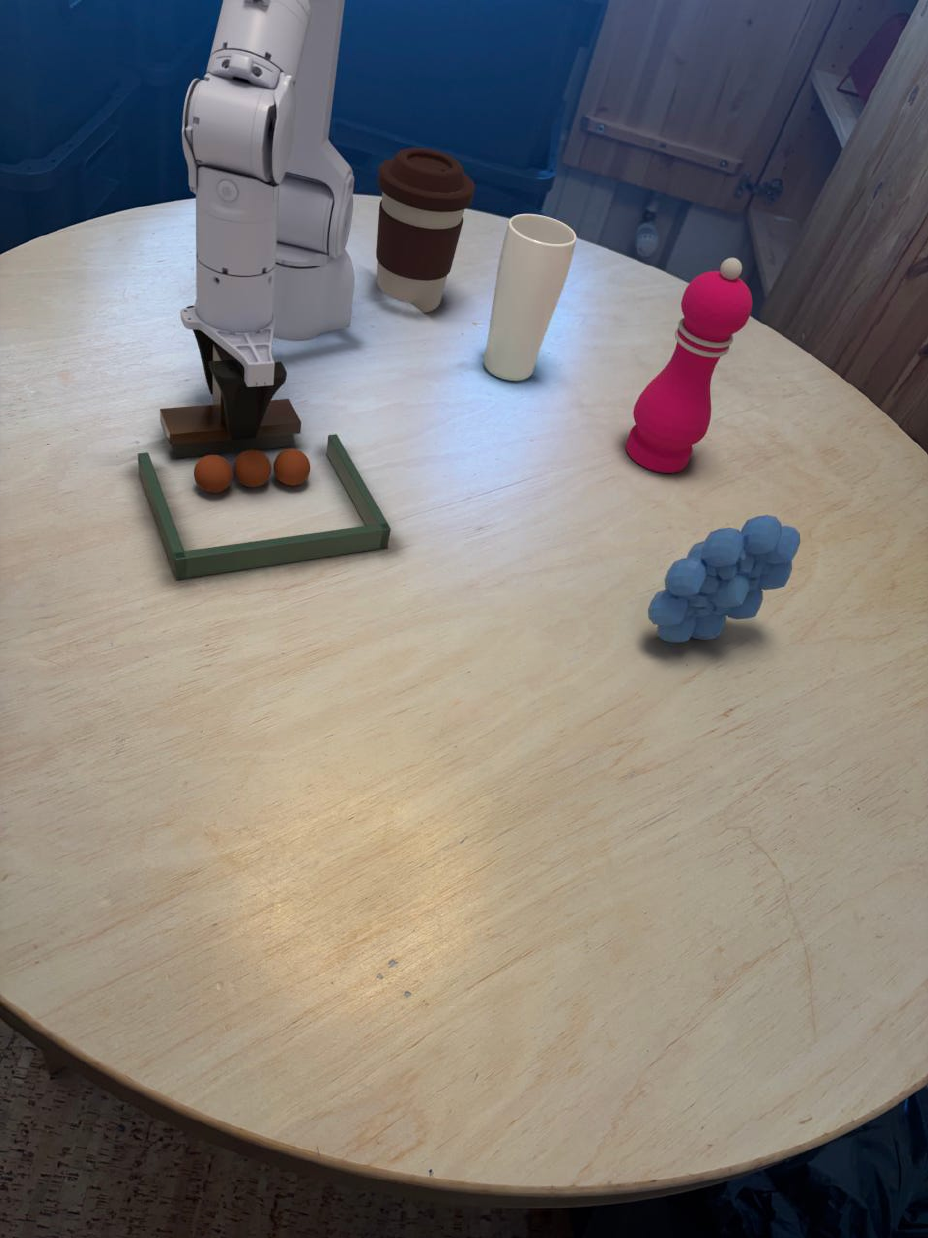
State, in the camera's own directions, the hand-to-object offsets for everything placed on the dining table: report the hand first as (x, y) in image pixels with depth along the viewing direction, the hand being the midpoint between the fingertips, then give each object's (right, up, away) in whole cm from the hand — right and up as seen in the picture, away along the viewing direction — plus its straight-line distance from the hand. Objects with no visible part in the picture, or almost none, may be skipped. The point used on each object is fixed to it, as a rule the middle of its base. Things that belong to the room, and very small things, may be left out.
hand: (232, 413), depth 80 cm
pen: (+3, -8, -3) cm, 9 cm away
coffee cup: (+13, +18, +26) cm, 35 cm away
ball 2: (+5, -5, -1) cm, 7 cm away
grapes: (+38, -18, -4) cm, 42 cm away
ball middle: (+2, -5, -3) cm, 6 cm away
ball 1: (-1, -6, -4) cm, 7 cm away
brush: (-1, -2, +2) cm, 3 cm away
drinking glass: (+24, +9, +20) cm, 32 cm away
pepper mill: (+38, -1, +14) cm, 41 cm away
